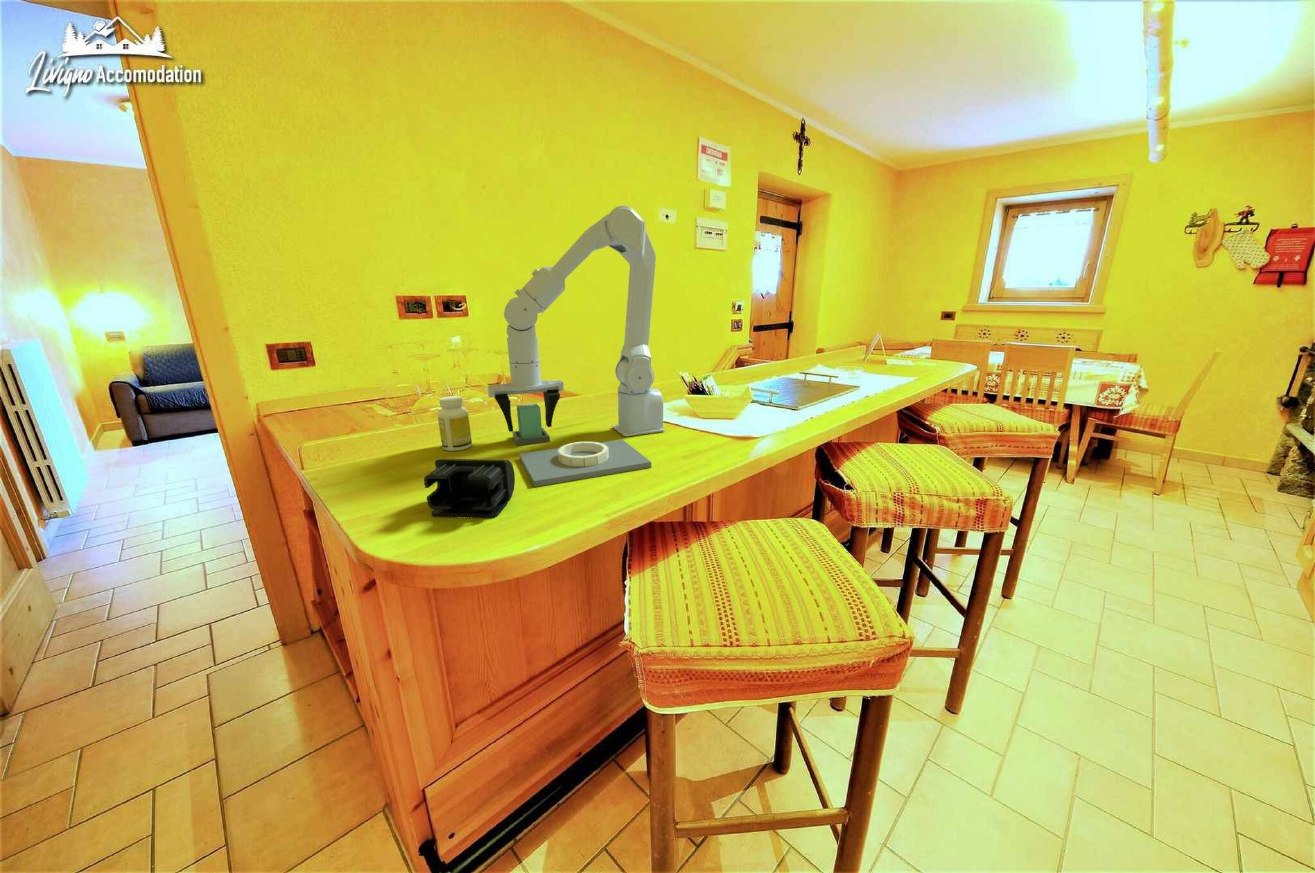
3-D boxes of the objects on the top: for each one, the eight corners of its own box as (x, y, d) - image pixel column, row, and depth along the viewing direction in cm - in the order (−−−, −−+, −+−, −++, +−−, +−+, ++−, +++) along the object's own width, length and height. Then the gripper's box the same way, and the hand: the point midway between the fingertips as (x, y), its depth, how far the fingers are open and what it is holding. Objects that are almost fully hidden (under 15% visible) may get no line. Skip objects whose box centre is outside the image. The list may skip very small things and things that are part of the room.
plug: (538, 435, 96) (536, 403, 94) (542, 440, 93) (540, 407, 91) (519, 438, 95) (516, 405, 93) (522, 443, 91) (519, 409, 89)
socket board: (622, 444, 91) (622, 431, 90) (651, 467, 79) (651, 453, 78) (519, 458, 83) (518, 445, 82) (534, 487, 71) (533, 471, 70)
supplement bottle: (477, 443, 91) (471, 395, 88) (463, 452, 86) (457, 401, 83) (451, 442, 92) (444, 395, 89) (436, 451, 87) (429, 401, 84)
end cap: (517, 496, 68) (513, 453, 66) (499, 519, 61) (494, 472, 59) (451, 495, 68) (445, 452, 66) (426, 517, 61) (418, 470, 59)
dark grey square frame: (543, 433, 98) (542, 427, 98) (549, 441, 92) (549, 436, 92) (512, 437, 95) (512, 431, 95) (517, 445, 90) (517, 440, 89)
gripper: (556, 357, 96) (560, 419, 100) (483, 361, 90) (490, 427, 94) (564, 361, 89) (568, 427, 93) (486, 366, 84) (494, 436, 88)
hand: (530, 428), depth 93 cm, fingers open, 7 cm apart
